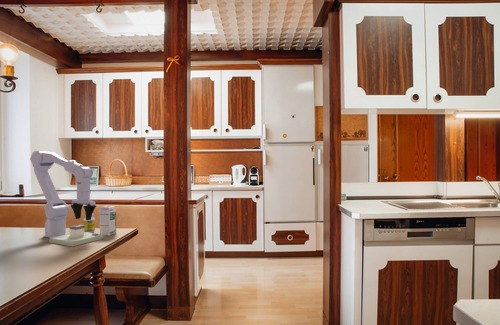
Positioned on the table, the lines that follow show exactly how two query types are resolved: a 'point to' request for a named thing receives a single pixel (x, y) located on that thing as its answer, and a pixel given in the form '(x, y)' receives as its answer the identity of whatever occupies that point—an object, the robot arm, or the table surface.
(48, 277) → the table surface
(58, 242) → the socket block
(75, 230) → the plug
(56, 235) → the robot arm
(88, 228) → the supplement bottle
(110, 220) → the syrup box
